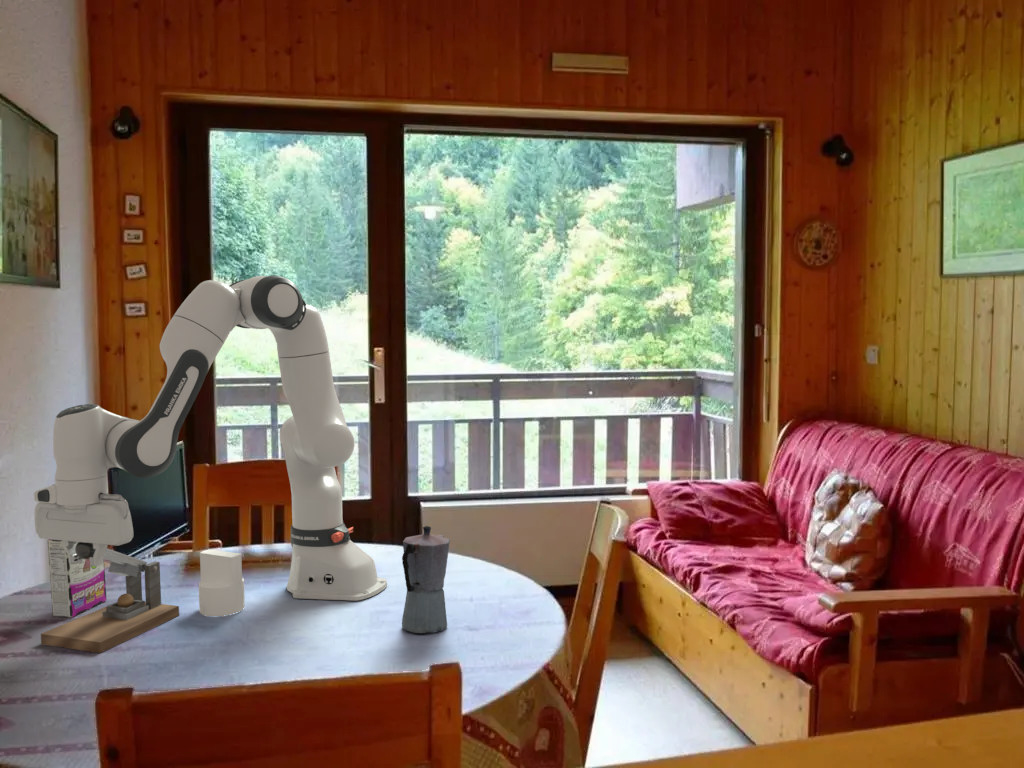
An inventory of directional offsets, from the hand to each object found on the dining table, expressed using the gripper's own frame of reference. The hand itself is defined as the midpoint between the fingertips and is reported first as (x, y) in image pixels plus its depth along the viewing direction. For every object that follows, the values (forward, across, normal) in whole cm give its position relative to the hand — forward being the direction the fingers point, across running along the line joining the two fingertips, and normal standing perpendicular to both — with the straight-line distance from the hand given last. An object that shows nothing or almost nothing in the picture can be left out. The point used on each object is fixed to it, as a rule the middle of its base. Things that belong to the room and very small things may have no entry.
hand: (86, 564), depth 164 cm
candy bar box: (+15, +16, -14) cm, 26 cm away
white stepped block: (+15, -13, -22) cm, 30 cm away
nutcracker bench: (+15, 0, -6) cm, 16 cm away
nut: (+12, 0, -10) cm, 15 cm away
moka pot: (+15, -58, -25) cm, 65 cm away
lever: (+2, 0, -5) cm, 6 cm away
